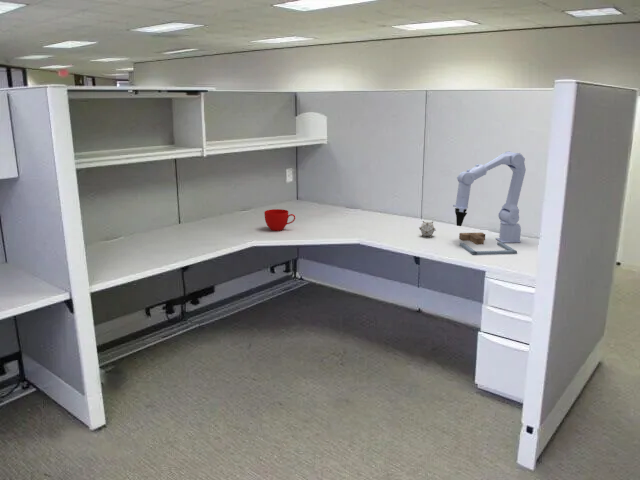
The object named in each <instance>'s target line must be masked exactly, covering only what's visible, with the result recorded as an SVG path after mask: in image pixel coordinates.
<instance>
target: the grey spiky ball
mask: <svg viewBox="0 0 640 480" xmlns="http://www.w3.org/2000/svg"><path fill="white" fill-rule="evenodd" d="M433 223H434V221H431V222H428V221H424V220H422V224H421V226H419V227H418V228H419V230H420V232H421V237H423V236H424V237H425V236H426V237H431V238H433V235H434V232H435V231H437V230H436V228H435V227H434V224H433Z"/></svg>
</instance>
